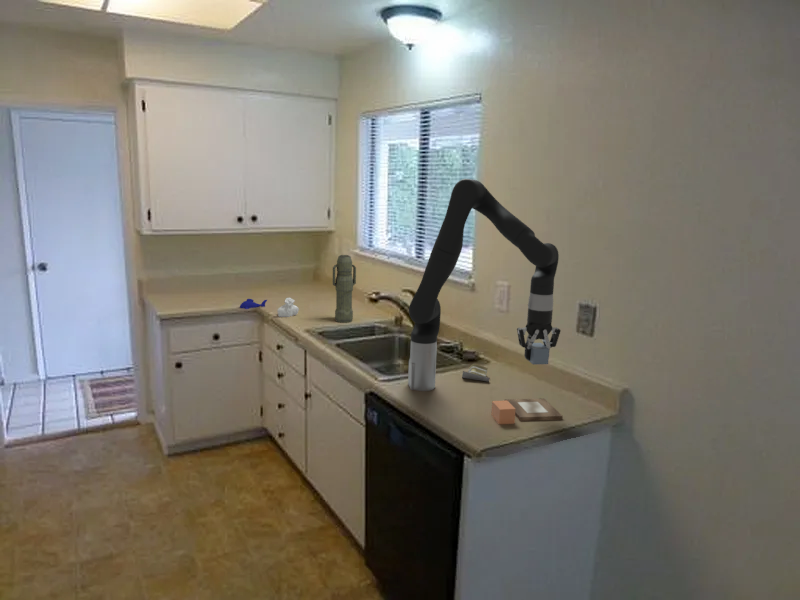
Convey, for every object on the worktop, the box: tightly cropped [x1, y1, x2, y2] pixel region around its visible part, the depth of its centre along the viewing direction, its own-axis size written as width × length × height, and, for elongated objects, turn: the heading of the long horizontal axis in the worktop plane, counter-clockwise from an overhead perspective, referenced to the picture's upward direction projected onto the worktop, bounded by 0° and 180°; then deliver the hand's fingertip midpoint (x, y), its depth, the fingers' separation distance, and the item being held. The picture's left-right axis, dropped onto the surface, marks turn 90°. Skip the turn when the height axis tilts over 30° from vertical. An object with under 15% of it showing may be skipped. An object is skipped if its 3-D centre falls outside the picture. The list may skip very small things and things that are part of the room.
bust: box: [277, 297, 300, 318], centre depth 303 cm, size 12×8×11 cm, turn 125°
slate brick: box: [527, 342, 550, 365], centre depth 183 cm, size 5×7×5 cm
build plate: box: [503, 398, 564, 422], centre depth 187 cm, size 14×15×1 cm
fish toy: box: [239, 298, 268, 310], centre depth 318 cm, size 15×8×7 cm, turn 115°
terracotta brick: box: [491, 399, 516, 425], centre depth 179 cm, size 5×7×5 cm
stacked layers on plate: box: [461, 363, 490, 383], centre depth 217 cm, size 10×9×6 cm
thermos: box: [332, 254, 357, 324], centre depth 292 cm, size 9×12×35 cm
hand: (536, 359), depth 183 cm, fingers closed on slate brick, 5 cm apart
